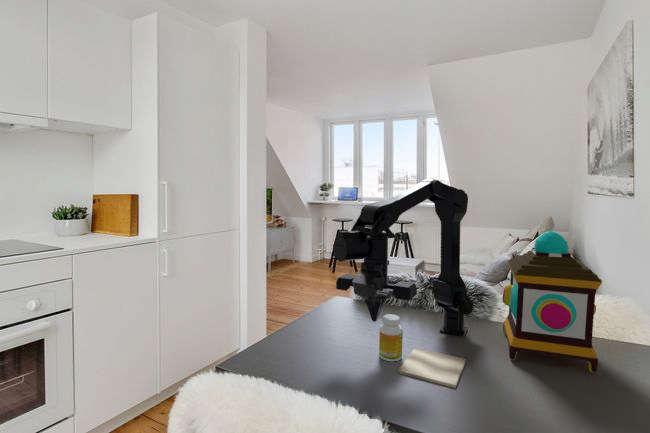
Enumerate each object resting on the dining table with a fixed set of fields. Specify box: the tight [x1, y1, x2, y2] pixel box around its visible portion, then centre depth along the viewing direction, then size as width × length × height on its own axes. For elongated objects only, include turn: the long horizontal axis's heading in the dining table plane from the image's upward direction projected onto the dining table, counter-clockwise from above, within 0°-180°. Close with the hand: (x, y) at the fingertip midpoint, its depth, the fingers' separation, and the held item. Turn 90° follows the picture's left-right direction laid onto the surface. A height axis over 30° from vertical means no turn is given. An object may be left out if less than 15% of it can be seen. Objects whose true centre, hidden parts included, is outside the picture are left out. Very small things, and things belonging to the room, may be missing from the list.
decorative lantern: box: [502, 230, 603, 374], centre depth 90 cm, size 20×20×30 cm
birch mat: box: [397, 347, 467, 389], centre depth 83 cm, size 13×12×1 cm
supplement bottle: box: [378, 313, 404, 362], centre depth 88 cm, size 5×5×10 cm
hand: (374, 320), depth 90 cm, fingers closed
